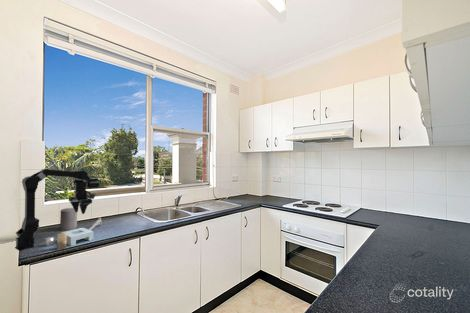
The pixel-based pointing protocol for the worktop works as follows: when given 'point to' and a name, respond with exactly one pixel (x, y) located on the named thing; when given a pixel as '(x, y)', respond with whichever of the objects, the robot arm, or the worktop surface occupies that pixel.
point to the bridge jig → (78, 235)
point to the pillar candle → (68, 219)
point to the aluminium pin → (49, 241)
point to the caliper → (96, 223)
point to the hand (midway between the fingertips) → (79, 212)
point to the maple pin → (61, 241)
